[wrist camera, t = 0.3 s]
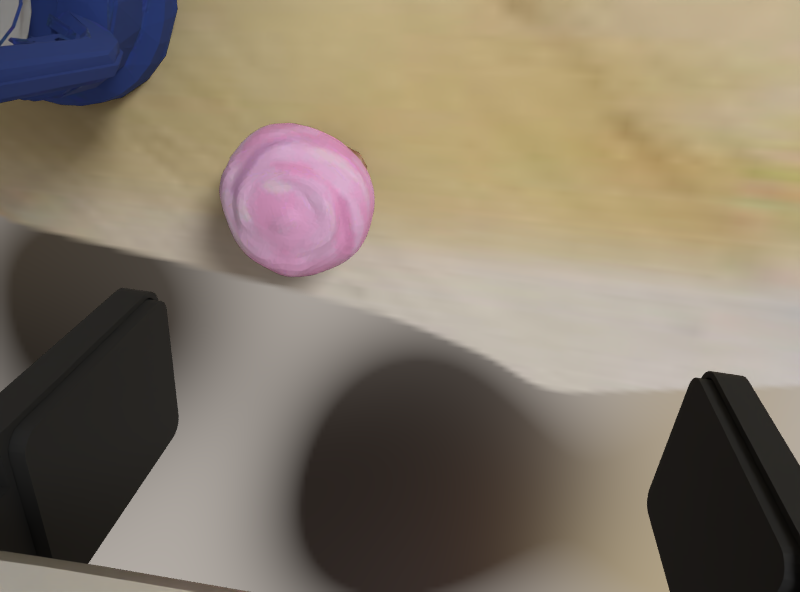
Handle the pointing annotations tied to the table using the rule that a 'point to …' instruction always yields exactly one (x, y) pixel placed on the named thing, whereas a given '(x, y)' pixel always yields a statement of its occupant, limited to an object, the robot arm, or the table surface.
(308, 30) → the table surface
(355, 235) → the cupcake
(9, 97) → the lantern
